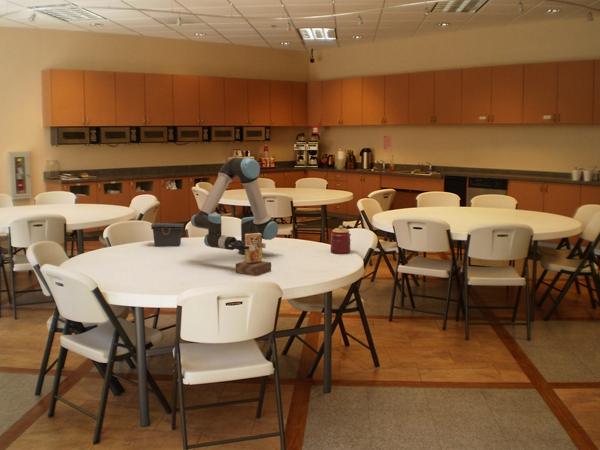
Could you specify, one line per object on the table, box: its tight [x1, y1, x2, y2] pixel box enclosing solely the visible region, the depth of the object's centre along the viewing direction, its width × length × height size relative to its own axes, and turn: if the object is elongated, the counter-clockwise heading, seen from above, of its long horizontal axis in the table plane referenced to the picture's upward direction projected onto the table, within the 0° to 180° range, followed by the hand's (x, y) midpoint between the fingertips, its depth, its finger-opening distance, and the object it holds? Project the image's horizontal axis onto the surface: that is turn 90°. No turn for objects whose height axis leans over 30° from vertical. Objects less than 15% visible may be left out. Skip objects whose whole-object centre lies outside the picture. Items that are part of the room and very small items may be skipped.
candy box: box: [244, 233, 263, 262], centre depth 348 cm, size 9×4×15 cm, turn 116°
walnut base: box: [235, 260, 272, 277], centre depth 349 cm, size 14×14×5 cm
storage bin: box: [150, 222, 185, 247], centre depth 423 cm, size 21×16×14 cm
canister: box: [330, 225, 352, 255], centre depth 405 cm, size 13×13×18 cm
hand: (259, 247), depth 345 cm, fingers closed on candy box, 9 cm apart
